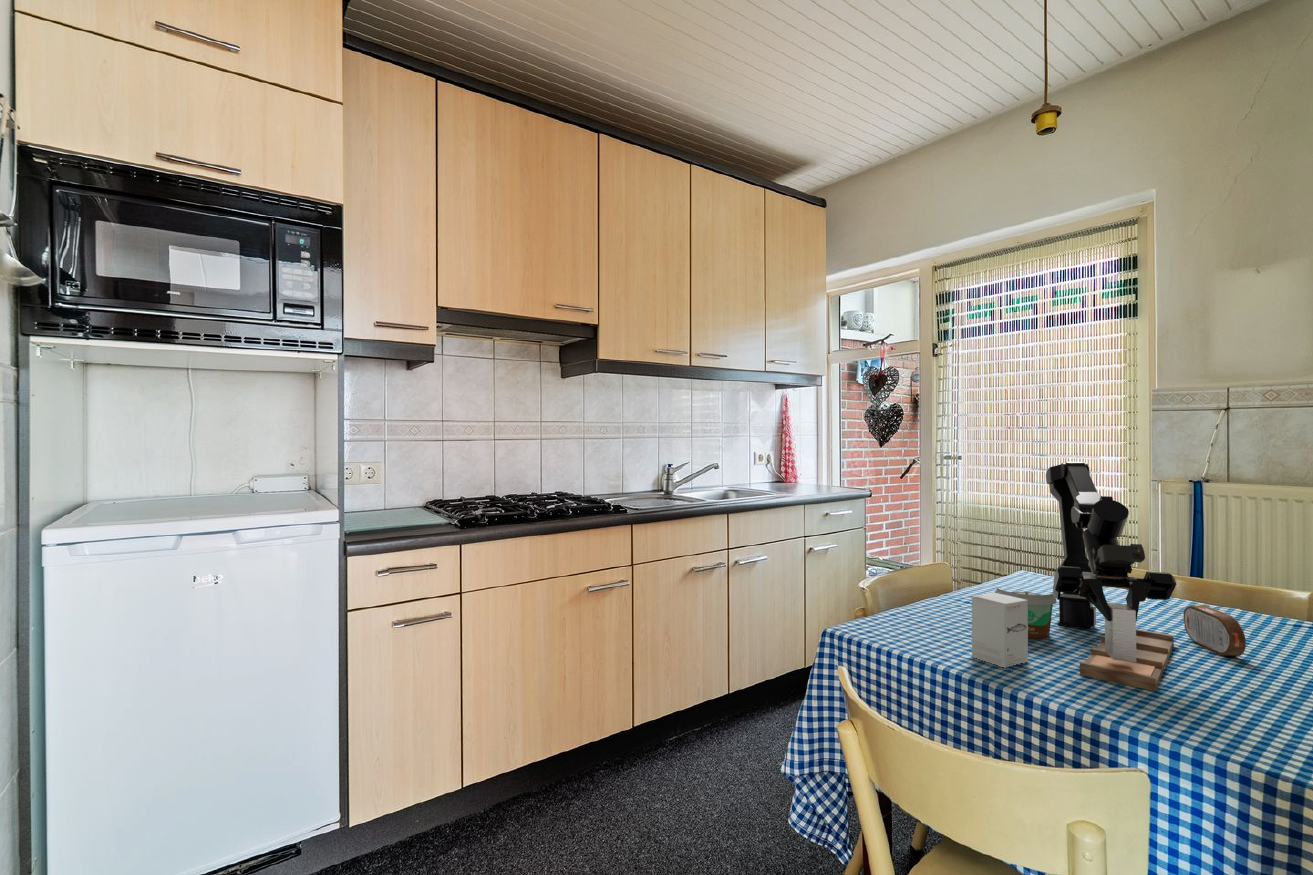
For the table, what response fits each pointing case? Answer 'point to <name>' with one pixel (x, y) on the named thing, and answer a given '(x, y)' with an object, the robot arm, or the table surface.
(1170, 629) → the table surface
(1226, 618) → the tin
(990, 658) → the supplement box
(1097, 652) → the rack
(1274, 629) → the table surface
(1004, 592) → the food container
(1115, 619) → the brushed grey box
